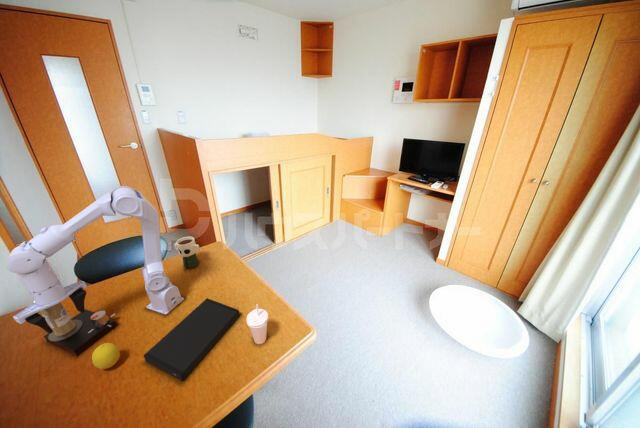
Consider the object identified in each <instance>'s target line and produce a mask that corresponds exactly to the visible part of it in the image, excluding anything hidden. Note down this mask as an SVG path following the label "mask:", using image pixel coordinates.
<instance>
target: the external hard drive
mask: <svg viewBox="0 0 640 428" xmlns="http://www.w3.org/2000/svg"><path fill="white" fill-rule="evenodd" d="M238 318H240V310H239V309H237V308H235V307H233V306H229V305H226V304H224V303H221V302H218V301H216V300H213V299H210V298H206V299H204V300H203V301H202V302H201V303H199V305H198V306H196V307H195V308H194V309H193V310H192V311H191V312H190V313H189V314H187V316H185V317H184V318H183V319H182V320H181V321H180V322H179V323H177V324H176V325H175V326H174V327H173V328H172V329H171V330H170V331H168V332H167V334H165V335H164V336H163V337H162V338H161V339H160V340H159V341H158V342H157V343H156V344H154V345H153V346H152V347H151V348H150V349H149V350H148V351H147V352H145V353H144V354H143V358H144V360H145V362H146V363H148V364H150V365H151V366H153V367H155V368H157V369H158V370H161V371H162V372H165V373H166V374H167V375H170V376H171V377H174V378H175V379H177V380H179V381H181V382H184V381H185V380H186V379H187V378H188V377H189V375H190V374H191V373H192V372H193V371H194V370H195V368H196V367H197V366H198V365H199V364H200V363H201V361H202V360H203V359H204V358H205V357H206V356H207V354H208V353H209V352H210V351H211V350H212V349H213V347H214V346H215V345H216V344H217V343H218V342H219V341H220V340H221V338H223V336H224V335H225V334H226V333H227V331H228V330H230V328H231V327H232V325H233V324H234V323H235V322H236V321H237V320H238Z"/></svg>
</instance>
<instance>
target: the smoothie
mask: <svg viewBox="0 0 640 428" xmlns="http://www.w3.org/2000/svg"><path fill="white" fill-rule="evenodd" d="M245 321H246V324H247V326H248V328H249V330H250V333H251V335H252V338H253V341H254V343H255V344H257V345H262V344H264V343H265V342H266V340H267V333H268V321H269V313H268V311H267V310H265V309H263V308H259V304H258V303H255V309H253V310H250V312H249V313H248V314H247V316H246V319H245Z"/></svg>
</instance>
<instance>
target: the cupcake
mask: <svg viewBox="0 0 640 428" xmlns="http://www.w3.org/2000/svg"><path fill="white" fill-rule="evenodd" d="M109 319H110V318H109V316H108V314H107V312H106V310H99V311H96V312H94V314H93V315H92V316H91V320H92V322H93V324H94V326H95V327H96V328H100V327H103V326H105V325H106V324H107V323H108V322H109Z"/></svg>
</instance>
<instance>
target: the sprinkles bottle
mask: <svg viewBox="0 0 640 428" xmlns="http://www.w3.org/2000/svg"><path fill="white" fill-rule="evenodd" d="M34 302H35V301H34V300H33V303H34ZM40 313H41V316H43V317H45V319H46V322H47V324H48V325H49V326H50V328H51V329H52V330H53V331H54V332H55V335H57V336H61V335H64V334H66V333H68V332H70V331H71V330H72V329H73V328H74V327H75V324H74V323H73V322H72V320H71V318H72V317H71V315H70V314H69V313H68V311H67V310H66V308H65V307H64V305H63V303H62V301H61V302H60V303H58V304H56V305H54V306H51V307H49V308H46V309H44V310H42V311H41V312H40Z"/></svg>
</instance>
